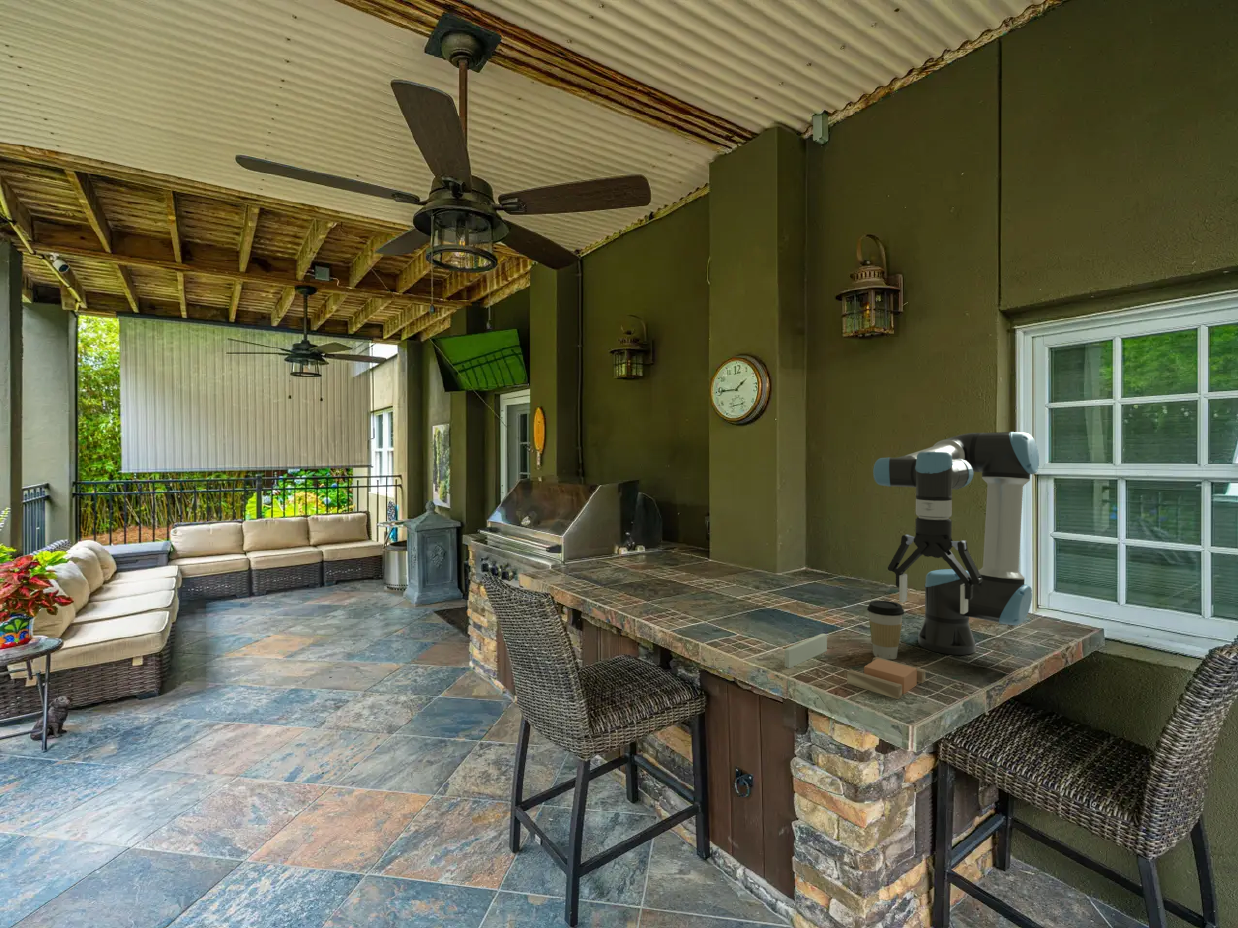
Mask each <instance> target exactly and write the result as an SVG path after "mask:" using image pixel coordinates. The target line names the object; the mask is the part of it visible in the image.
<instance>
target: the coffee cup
mask: <svg viewBox="0 0 1238 928" xmlns="http://www.w3.org/2000/svg"><path fill="white" fill-rule="evenodd" d="M866 611H868V615H869V619H868V620H869V621H868V622H869V629H870V637H871V638H870V639H871V645H872V652H873V656H874V657H879V658H882V659H886V660H895V659H897V657H898V651H899V646H900V639H901V635H902V634H901V632H902V627H903V622H902V621H903V615H904V614H905V610H904V609H903V605H902V604H901V603H898V602H895V601H889V600H873V601H870V602H869V605H868V606H867V609H866Z"/></svg>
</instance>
